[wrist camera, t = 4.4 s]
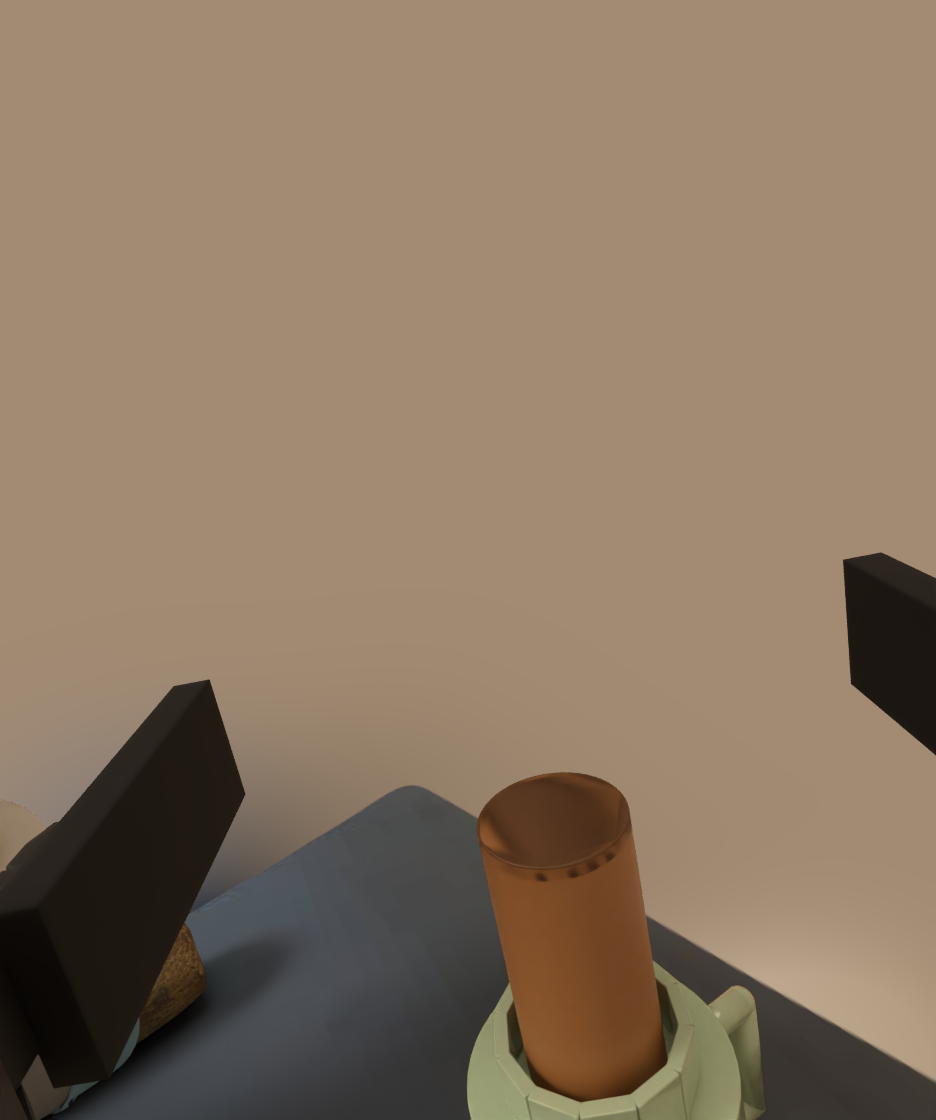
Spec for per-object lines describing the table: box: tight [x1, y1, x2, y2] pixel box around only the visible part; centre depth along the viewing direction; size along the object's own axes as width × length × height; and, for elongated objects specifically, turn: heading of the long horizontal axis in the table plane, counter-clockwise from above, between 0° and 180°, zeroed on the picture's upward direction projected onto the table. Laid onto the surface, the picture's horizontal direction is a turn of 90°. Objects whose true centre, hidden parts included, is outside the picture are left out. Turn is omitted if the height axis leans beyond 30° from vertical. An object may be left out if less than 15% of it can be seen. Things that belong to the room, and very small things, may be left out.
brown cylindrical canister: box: [477, 772, 668, 1102], centre depth 29 cm, size 6×6×12 cm
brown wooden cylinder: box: [136, 922, 206, 1044], centre depth 51 cm, size 15×7×7 cm, turn 133°
